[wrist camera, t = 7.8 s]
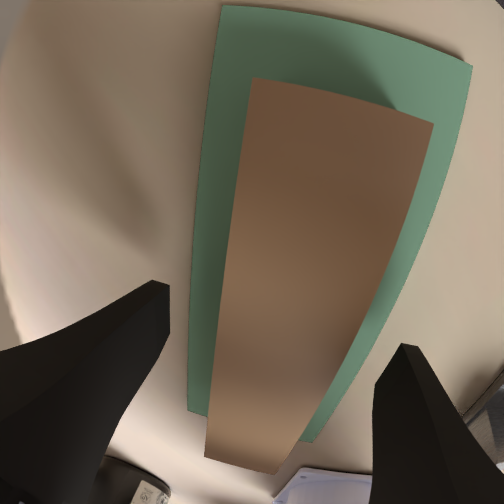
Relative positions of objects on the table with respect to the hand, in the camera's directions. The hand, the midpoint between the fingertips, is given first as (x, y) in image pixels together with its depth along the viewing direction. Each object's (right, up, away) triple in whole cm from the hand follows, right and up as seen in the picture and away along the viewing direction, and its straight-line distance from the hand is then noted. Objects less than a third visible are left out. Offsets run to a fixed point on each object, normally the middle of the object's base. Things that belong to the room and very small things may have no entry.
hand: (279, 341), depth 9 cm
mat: (0, +1, +2) cm, 2 cm away
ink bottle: (-14, -22, +18) cm, 32 cm away
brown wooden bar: (0, +1, +2) cm, 2 cm away
